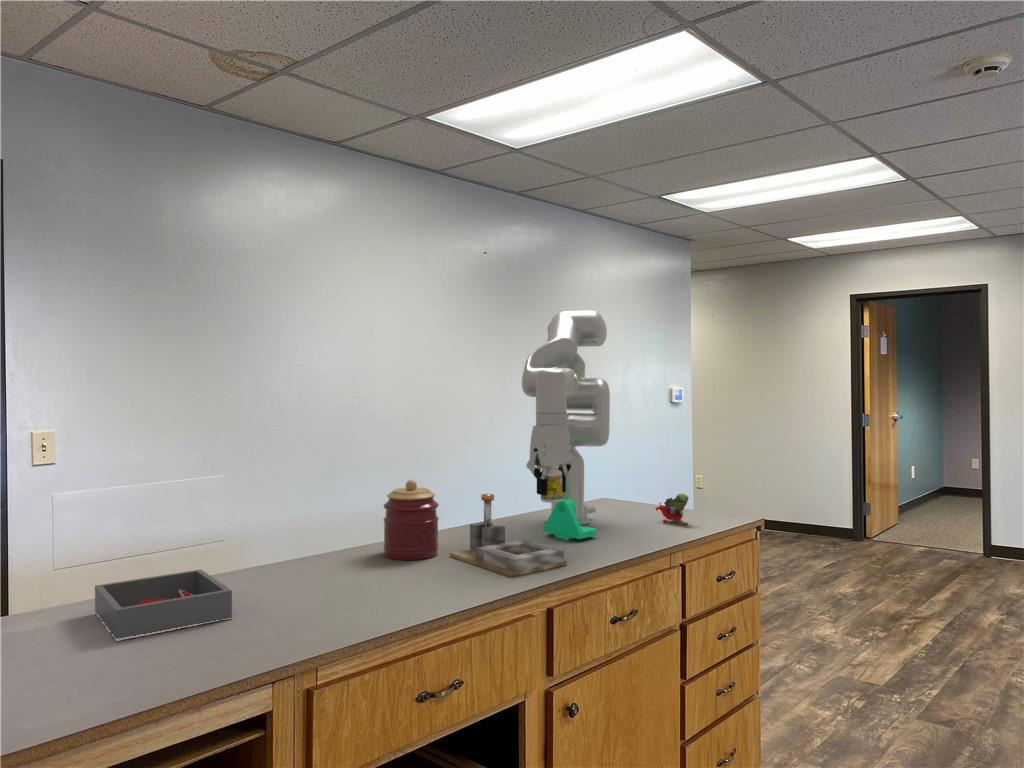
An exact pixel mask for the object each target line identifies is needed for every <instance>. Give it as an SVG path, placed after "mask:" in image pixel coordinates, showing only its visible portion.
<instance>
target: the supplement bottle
mask: <svg viewBox="0 0 1024 768" xmlns="http://www.w3.org/2000/svg"><path fill="white" fill-rule="evenodd" d="M558 468H559V465H554V466H551V467H548V468H547V472H546V476H545V479H547V495H545V496H544V495H540V501H542V502H543V503H553V502H560V501H562V472H561V471H560V470H558Z"/></svg>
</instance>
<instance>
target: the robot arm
mask: <svg viewBox="0 0 1024 768" xmlns="http://www.w3.org/2000/svg"><path fill="white" fill-rule="evenodd" d="M607 330H608V329H607V324H606V321H605V320H604V318H603V316H602V314H600V313H599V312H597V311H596V310H564V311H563V310H562V311H560V312H557V313H556V314H554V315H553V317H552V319H551V321H550V322H549V323H548V326H547V341H546V342H545V343H543V344H542V345H541V346H539V347H537V348H536V349H534V351H532V352H531V354H529V355H528V356H527V358H526V361H525V362H524V363H525V364H524V368H523V372H522V377H521V388H522V391H523V393H524V394H525V396H527V397H530V398H535V425H533V426H532V430H531V434H530V435H531V436H530V445H529V460H528V461H527V463H526V468H527V469H528V470H529V471H530V473H531V474H533V476H534V478H535V479H536V494H537V495H540V496H541V495H544V496H545V495H547V479H545V476H546V472H547V468H548V467H551V466H554V465H559V468H558V470H560V471H561V472H562V500H565V499H571V500H573V501H574V502H575V504H576V512H575V515H576V517H577V519H578V522H579V524H580V526H584V525H587V524H589V523H590V518H589V517H588V516H587V515H588V514H595V512H596V510H597V508H596V506H594V505H591V506H587V505H585V460H584V458H583V456H582V455H581V453H580V452H579V451H578V450H577V448H576V447H591V448H592V447H603V446H606V445H607V444H608V443H609V442H608V441H609V437H610V413H611V411H610V410H611V407H610V405H611V400H610V399H611V395H610V387H609V384H608V382H607V381H606V380H604V379H603V378H599V377H598V378H596V377H589V378H587V377H586V363H585V361H584V360H583V357H582V356H581V355H580V354H579V353H578V347H583V348H584V347H585V348H586V347H602V346H603V345H604V344H605V342H606V339H607V334H608V331H607ZM567 411H591V412H592V413H587V412H585V413H582V412H567ZM556 503H557V502H553V503H551V505H550V506H551V507H550V508H551V511H550V514H551V513H552V511H553V509H554V507H555V505H556ZM549 517H550V515H548V516H546V518H545V522H546V523H547V521H548V519H549Z"/></svg>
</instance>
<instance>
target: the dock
mask: <svg viewBox="0 0 1024 768" xmlns="http://www.w3.org/2000/svg"><path fill="white" fill-rule="evenodd" d="M449 557H450V558H453V559H456V560H460V561H461V562H465V563H468V564H470V565H474V566H477V567H479V568H483V569H485V568H486V570H488V571H491V570H492V572H495V573H497V572H498V574H500V573H501V575H503V574H504V575H503V576H506V575H507V576H506V577H509V578H513V576H514V577H518V576H517V575H519V576H523V575H522V574H524V575H527V573H528V574H532V573H531V572H533V573H537V572H536V571H538V572H542V571H541V570H543V571H547V570H551V569H550V568H552V569H556V568H555V567H557V568H561V567H566V566H568V561H567V560H565V550H564V549H560V548H556V547H553V546H549V545H545V544H541V543H537V542H534V541H531V540H526V539H519V540H515V541H514V540H512V541H508V542H506V526H505V525H501V524H496V525H495V524H494V522H491V526H487V527H484V521H482V522H474V523H470V524H469V548H467V549H462V550H454V551H451V552H449ZM565 565H566V566H565ZM560 566H561V567H560ZM546 569H547V570H546Z"/></svg>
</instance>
